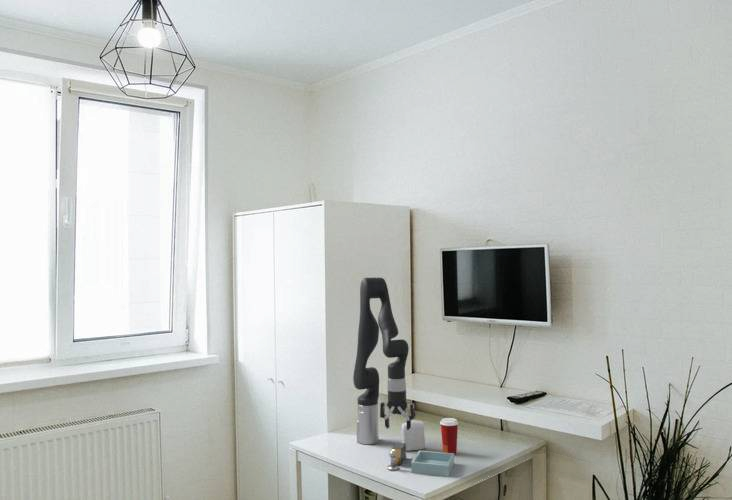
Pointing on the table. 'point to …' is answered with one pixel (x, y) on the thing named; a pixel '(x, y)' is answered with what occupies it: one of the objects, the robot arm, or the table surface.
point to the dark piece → (399, 453)
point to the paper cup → (449, 435)
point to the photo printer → (413, 435)
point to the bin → (432, 463)
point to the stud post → (392, 462)
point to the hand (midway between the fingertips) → (397, 428)
